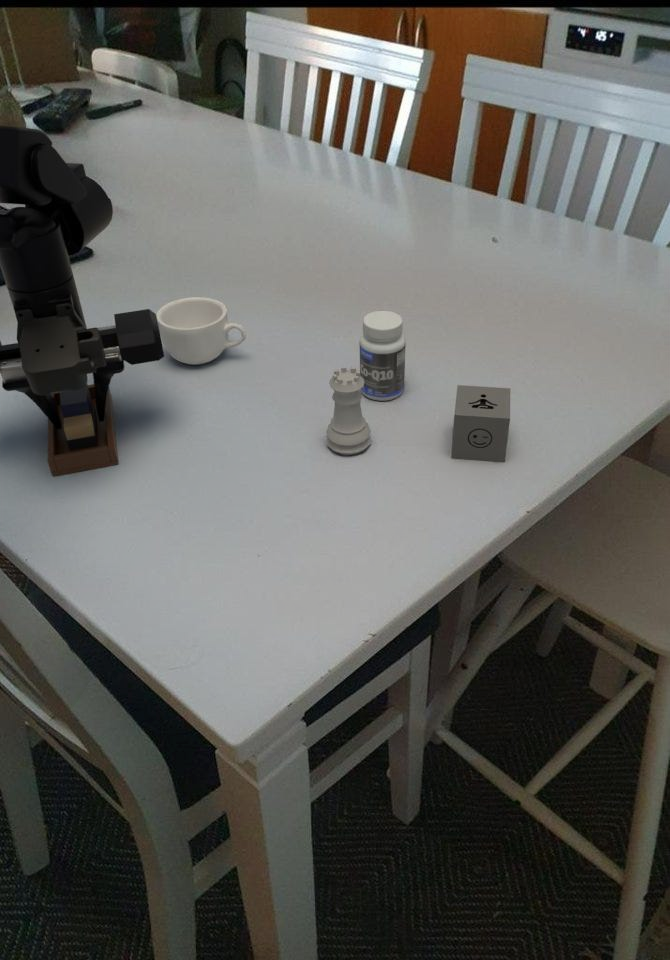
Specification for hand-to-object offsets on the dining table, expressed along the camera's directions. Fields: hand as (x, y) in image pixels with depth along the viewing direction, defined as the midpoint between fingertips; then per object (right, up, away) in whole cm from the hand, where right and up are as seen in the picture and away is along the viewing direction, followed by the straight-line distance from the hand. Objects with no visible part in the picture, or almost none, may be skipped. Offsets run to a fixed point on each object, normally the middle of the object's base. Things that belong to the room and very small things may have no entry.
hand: (81, 422), depth 81 cm
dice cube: (+39, -2, -2) cm, 40 cm away
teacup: (+11, +8, +12) cm, 18 cm away
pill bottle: (+31, +4, +5) cm, 31 cm away
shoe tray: (0, -1, +1) cm, 2 cm away
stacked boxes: (0, -1, +1) cm, 1 cm away
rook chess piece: (+27, -2, -2) cm, 27 cm away
